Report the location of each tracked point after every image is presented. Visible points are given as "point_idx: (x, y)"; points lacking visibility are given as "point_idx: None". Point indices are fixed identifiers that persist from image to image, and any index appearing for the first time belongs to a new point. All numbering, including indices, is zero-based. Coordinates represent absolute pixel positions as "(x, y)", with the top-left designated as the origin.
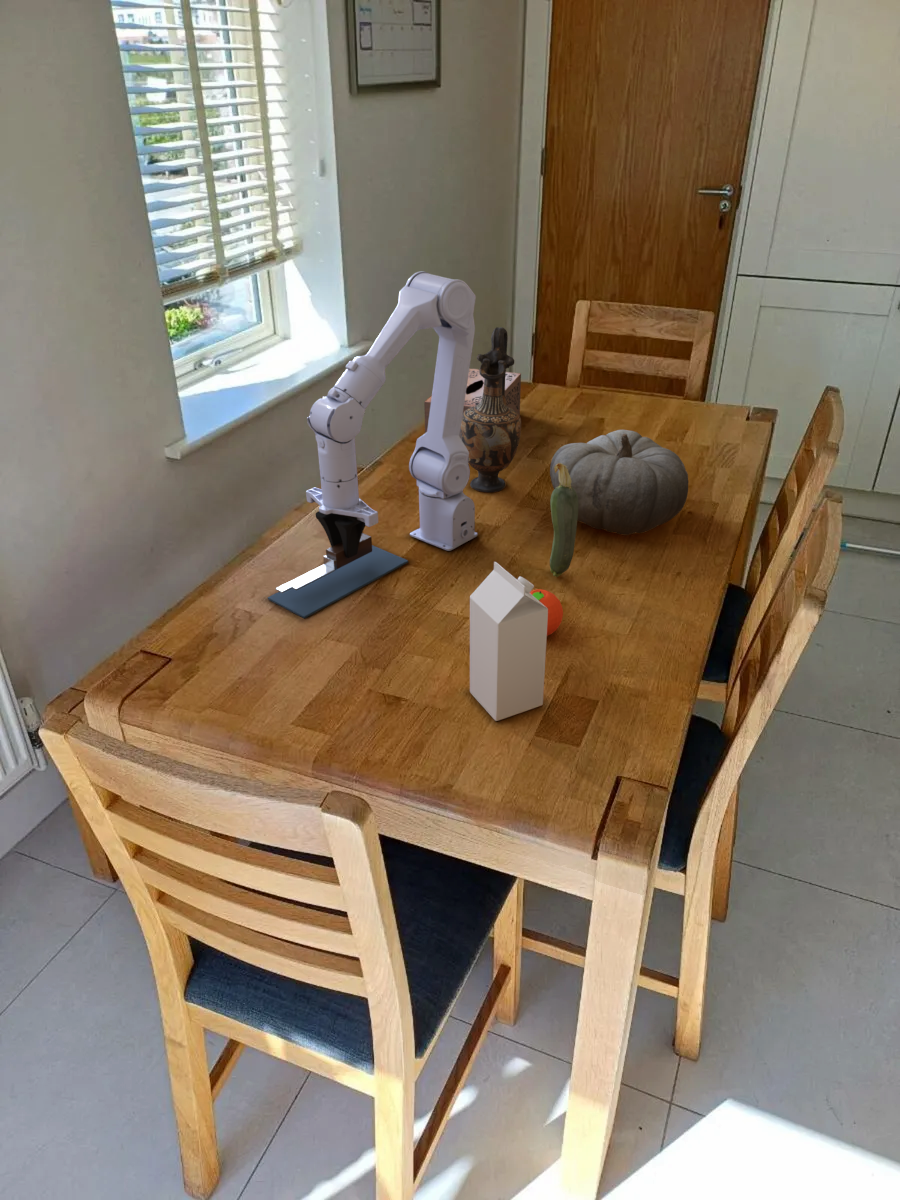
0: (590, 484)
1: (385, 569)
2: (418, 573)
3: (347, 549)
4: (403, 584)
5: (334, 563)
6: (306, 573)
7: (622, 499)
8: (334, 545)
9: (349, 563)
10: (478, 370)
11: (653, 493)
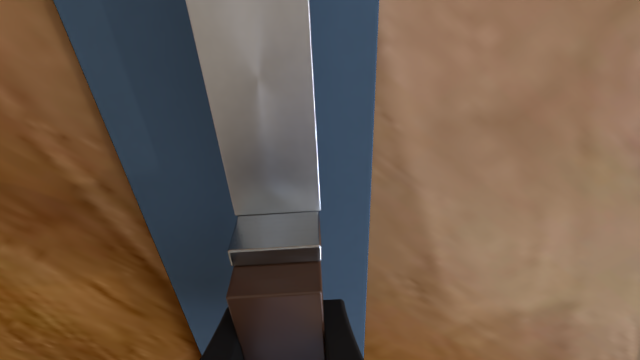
0: None
1: (203, 321)
2: (135, 355)
3: (201, 357)
4: (92, 306)
5: (230, 242)
6: (308, 85)
7: None
8: (325, 337)
9: (324, 280)
10: None
11: None
